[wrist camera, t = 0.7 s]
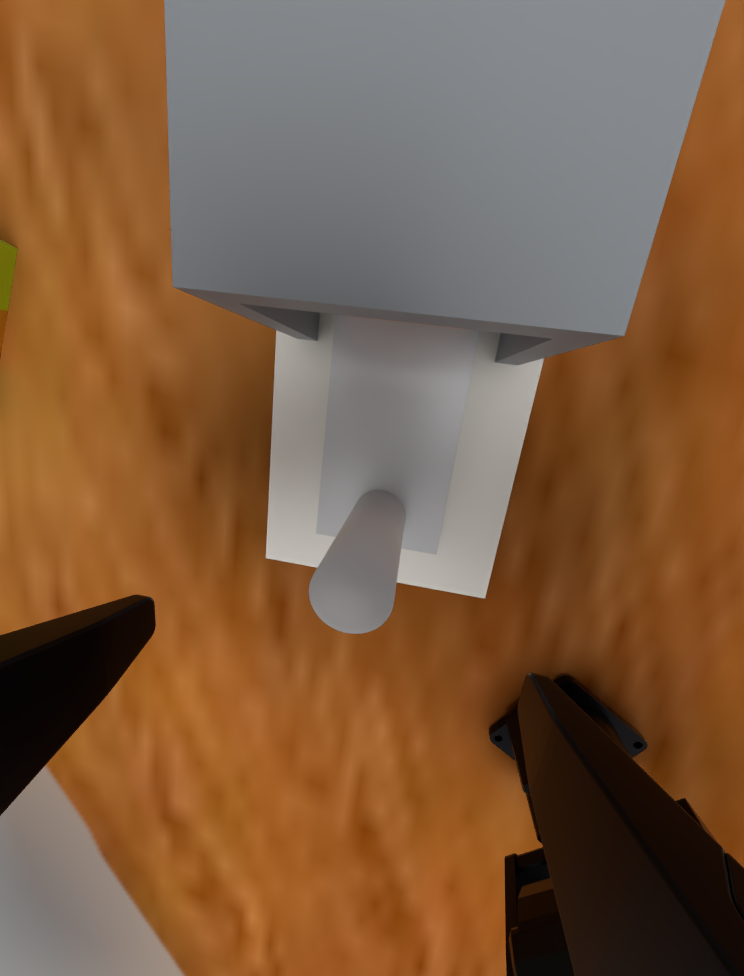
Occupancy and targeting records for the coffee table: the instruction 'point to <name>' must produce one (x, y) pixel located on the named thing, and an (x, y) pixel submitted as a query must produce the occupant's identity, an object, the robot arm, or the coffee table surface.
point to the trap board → (475, 479)
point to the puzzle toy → (5, 282)
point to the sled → (385, 458)
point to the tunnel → (428, 159)
